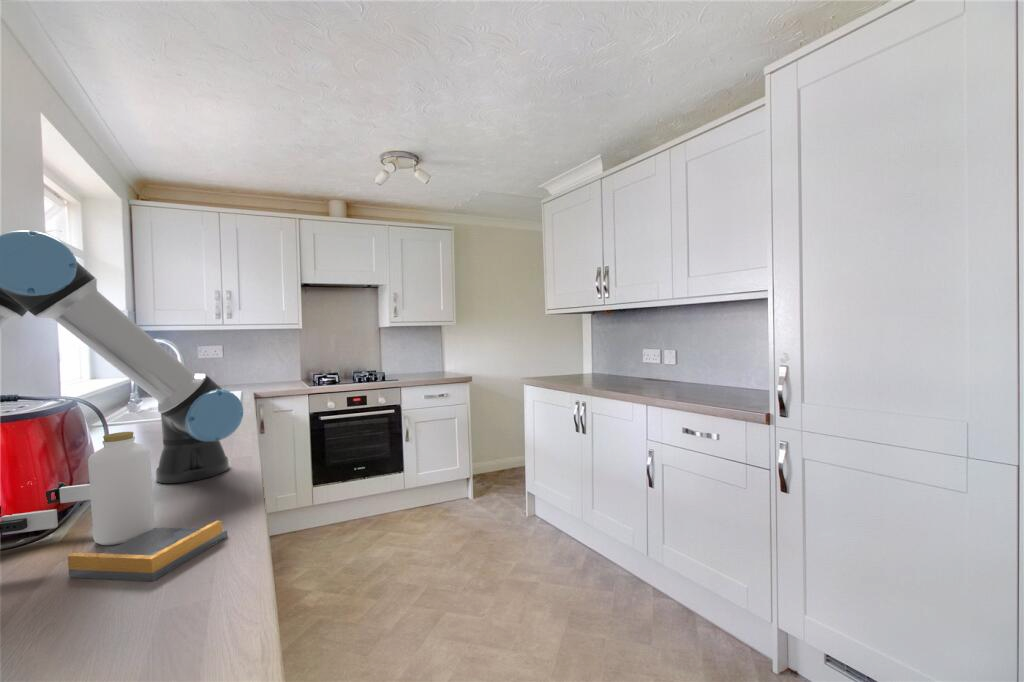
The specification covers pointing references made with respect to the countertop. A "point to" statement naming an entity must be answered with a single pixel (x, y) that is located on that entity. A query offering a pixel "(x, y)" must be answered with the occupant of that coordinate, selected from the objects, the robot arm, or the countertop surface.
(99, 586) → the countertop surface
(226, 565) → the countertop surface
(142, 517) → the white bottle
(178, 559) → the plate
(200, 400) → the robot arm
